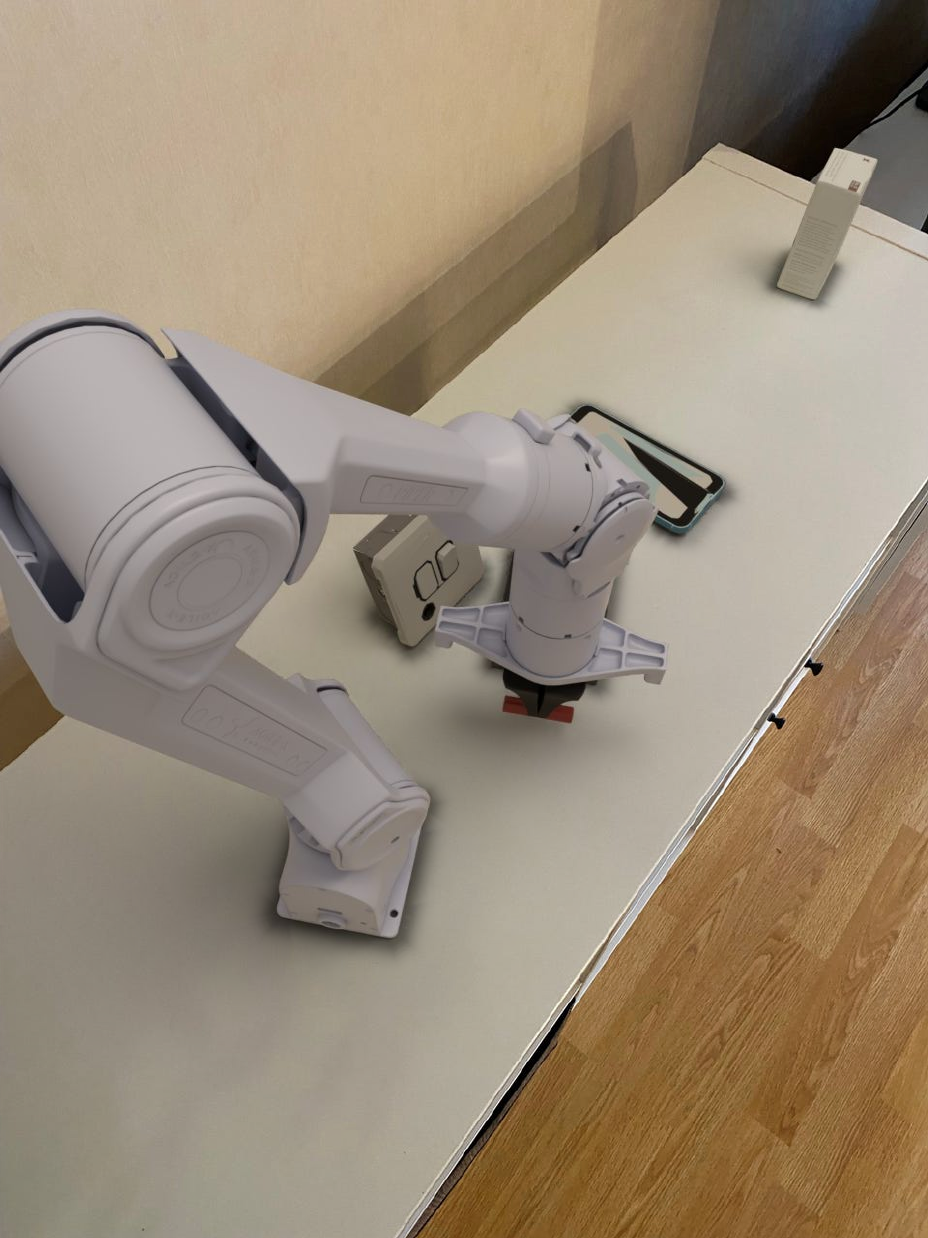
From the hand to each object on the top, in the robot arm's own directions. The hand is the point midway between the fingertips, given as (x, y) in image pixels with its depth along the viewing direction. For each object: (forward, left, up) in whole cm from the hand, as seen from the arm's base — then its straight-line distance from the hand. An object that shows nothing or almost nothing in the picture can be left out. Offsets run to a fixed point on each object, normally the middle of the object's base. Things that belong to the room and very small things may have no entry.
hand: (539, 705), depth 68 cm
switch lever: (+6, 0, 0) cm, 6 cm away
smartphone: (+25, -4, -3) cm, 26 cm away
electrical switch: (+9, +11, -3) cm, 14 cm away
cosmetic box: (+54, -19, -3) cm, 58 cm away
